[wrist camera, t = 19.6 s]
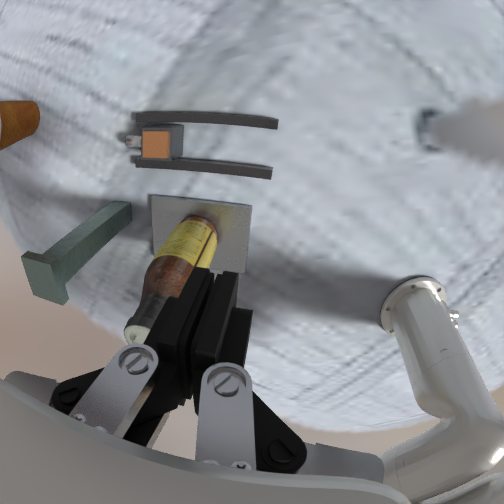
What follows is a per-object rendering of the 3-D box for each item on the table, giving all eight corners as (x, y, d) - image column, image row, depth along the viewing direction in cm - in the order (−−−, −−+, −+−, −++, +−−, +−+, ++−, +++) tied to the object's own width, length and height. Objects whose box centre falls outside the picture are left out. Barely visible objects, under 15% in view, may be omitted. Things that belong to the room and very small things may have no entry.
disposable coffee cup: (51, 128, 34) (-3, 145, 24) (23, 152, 36) (-26, 172, 26) (39, 81, 30) (-15, 88, 20) (11, 109, 32) (-37, 122, 22)
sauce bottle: (168, 227, 39) (94, 320, 22) (203, 206, 37) (136, 299, 20) (194, 263, 42) (141, 368, 24) (229, 245, 40) (188, 356, 22)
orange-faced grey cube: (183, 125, 33) (171, 128, 29) (182, 155, 35) (169, 161, 31) (135, 125, 33) (119, 128, 29) (135, 153, 35) (119, 159, 31)
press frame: (278, 119, 32) (270, 131, 15) (259, 271, 42) (240, 378, 26) (105, 114, 33) (0, 140, 16) (114, 248, 44) (45, 324, 27)
